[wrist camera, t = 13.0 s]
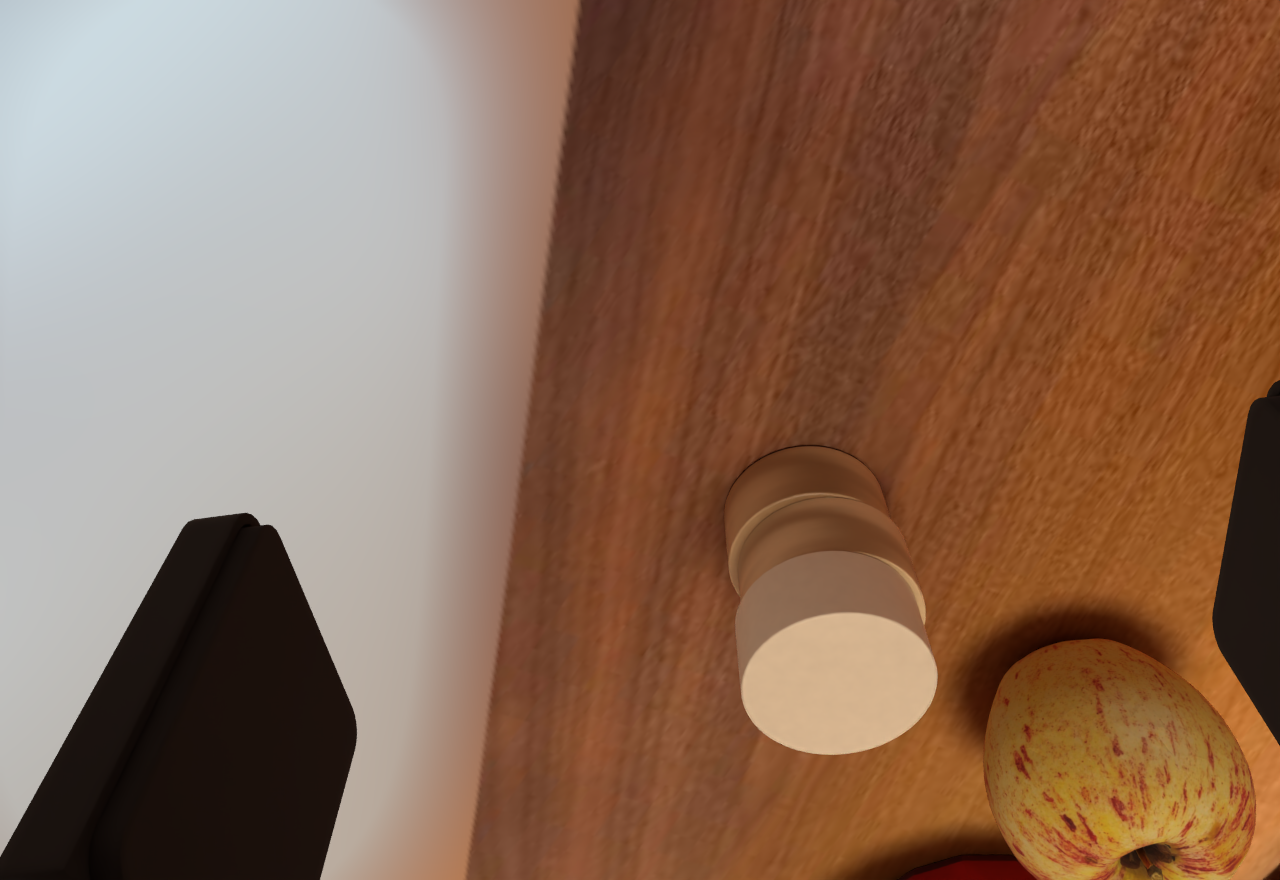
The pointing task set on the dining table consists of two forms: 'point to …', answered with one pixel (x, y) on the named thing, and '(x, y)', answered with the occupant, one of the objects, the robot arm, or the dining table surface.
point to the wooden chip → (833, 653)
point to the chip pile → (809, 515)
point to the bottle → (972, 869)
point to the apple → (1114, 769)
